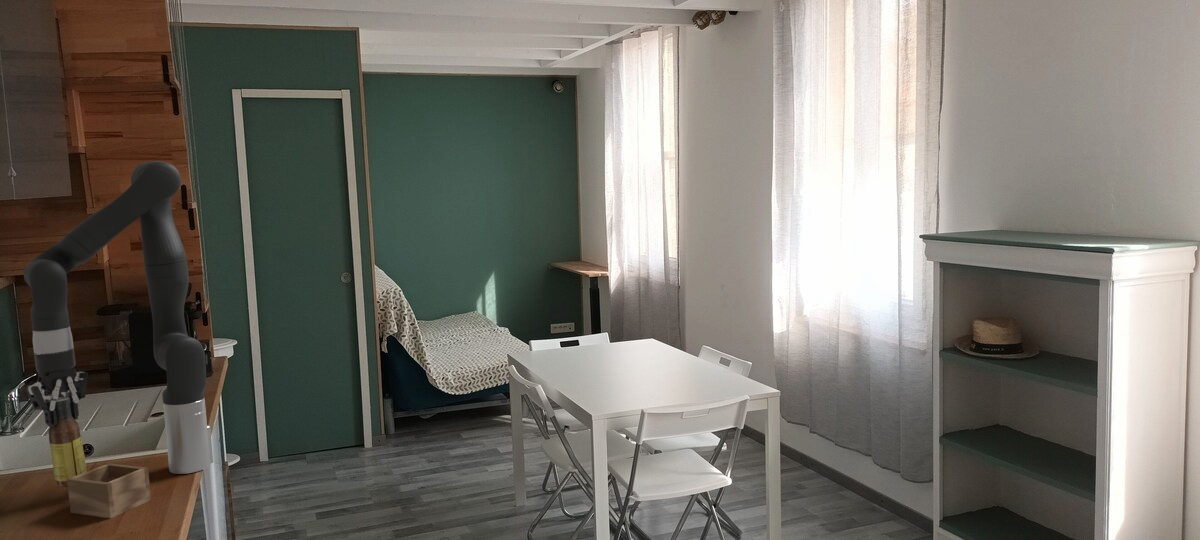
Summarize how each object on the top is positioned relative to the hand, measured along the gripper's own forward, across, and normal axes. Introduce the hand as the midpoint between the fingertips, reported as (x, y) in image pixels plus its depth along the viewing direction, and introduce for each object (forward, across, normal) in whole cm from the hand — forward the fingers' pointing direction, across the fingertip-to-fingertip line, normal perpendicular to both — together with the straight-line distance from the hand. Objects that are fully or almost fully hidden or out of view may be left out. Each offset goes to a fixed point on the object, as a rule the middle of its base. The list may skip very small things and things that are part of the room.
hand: (62, 422), depth 196 cm
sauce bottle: (+15, 0, 0) cm, 15 cm away
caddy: (+18, +2, +14) cm, 22 cm away
